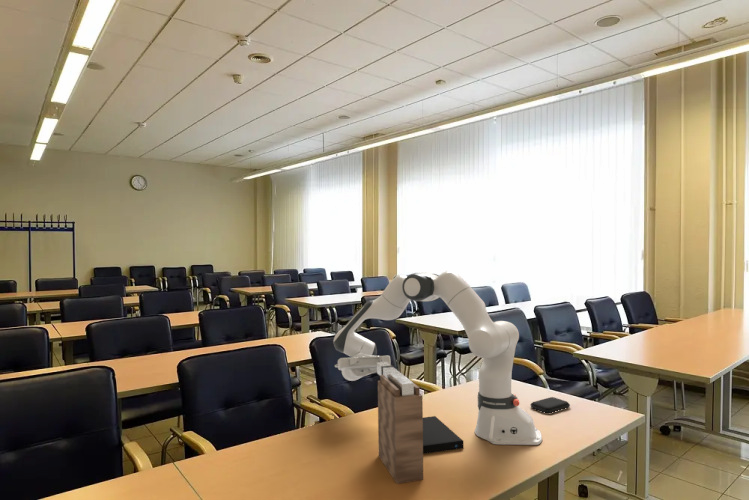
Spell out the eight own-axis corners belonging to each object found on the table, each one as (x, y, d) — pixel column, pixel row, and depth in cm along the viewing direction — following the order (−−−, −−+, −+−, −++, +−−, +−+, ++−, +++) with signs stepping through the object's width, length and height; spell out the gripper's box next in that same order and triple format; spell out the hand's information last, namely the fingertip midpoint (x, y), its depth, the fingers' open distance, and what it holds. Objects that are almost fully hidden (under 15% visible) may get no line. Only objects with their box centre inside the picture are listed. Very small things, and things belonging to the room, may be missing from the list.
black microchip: (549, 401, 200) (526, 408, 192) (549, 394, 200) (526, 401, 192) (572, 409, 191) (548, 416, 183) (572, 401, 191) (548, 408, 183)
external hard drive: (435, 424, 176) (435, 416, 176) (463, 449, 154) (463, 440, 154) (399, 428, 173) (399, 420, 173) (423, 455, 150) (422, 446, 150)
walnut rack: (378, 456, 149) (377, 374, 149) (402, 452, 151) (401, 372, 151) (396, 483, 132) (395, 391, 132) (423, 479, 134) (422, 388, 134)
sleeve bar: (376, 373, 158) (376, 362, 158) (387, 372, 159) (387, 361, 159) (401, 397, 133) (401, 383, 133) (414, 395, 134) (414, 382, 134)
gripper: (333, 358, 183) (341, 351, 171) (382, 356, 189) (394, 349, 177) (334, 375, 181) (342, 369, 168) (384, 372, 187) (396, 366, 175)
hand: (369, 359), depth 173 cm, fingers open, 8 cm apart
